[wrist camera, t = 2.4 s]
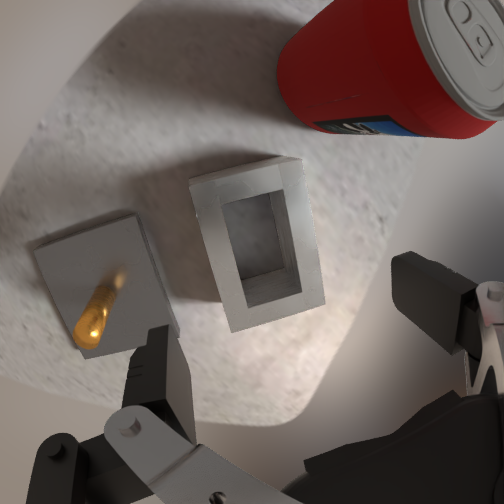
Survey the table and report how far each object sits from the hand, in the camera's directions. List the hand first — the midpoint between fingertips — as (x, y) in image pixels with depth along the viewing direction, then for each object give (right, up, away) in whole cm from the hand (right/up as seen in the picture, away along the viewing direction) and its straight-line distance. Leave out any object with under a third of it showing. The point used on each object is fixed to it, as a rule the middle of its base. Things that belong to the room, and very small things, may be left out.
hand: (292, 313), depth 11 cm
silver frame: (-1, +3, +8) cm, 9 cm away
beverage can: (+3, +12, +6) cm, 14 cm away
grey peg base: (-10, 0, +8) cm, 13 cm away
